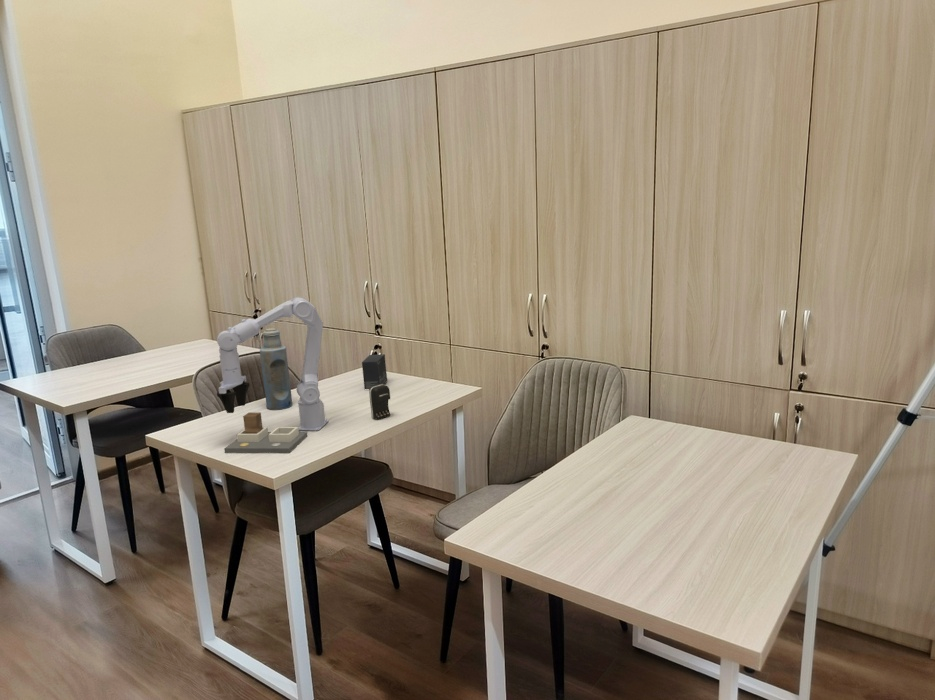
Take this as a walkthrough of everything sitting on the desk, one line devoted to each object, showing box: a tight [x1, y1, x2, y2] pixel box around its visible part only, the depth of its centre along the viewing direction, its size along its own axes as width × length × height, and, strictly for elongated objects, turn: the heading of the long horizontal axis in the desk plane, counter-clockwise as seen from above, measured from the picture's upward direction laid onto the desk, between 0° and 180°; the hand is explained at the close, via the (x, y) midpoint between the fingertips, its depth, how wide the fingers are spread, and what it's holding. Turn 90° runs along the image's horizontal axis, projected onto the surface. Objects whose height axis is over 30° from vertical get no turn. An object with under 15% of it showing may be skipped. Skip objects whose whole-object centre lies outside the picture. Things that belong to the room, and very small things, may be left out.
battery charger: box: [368, 384, 391, 420], centre depth 230 cm, size 7×4×11 cm, turn 135°
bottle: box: [259, 327, 293, 411], centre depth 248 cm, size 10×10×30 cm
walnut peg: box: [242, 411, 263, 434], centre depth 211 cm, size 4×4×8 cm
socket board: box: [223, 426, 309, 454], centre depth 209 cm, size 15×21×4 cm
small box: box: [361, 353, 388, 390], centre depth 272 cm, size 13×7×12 cm, turn 174°
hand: (236, 409), depth 214 cm, fingers open, 7 cm apart
